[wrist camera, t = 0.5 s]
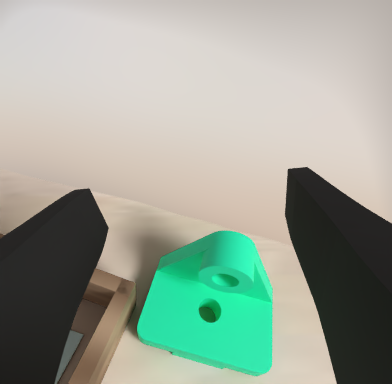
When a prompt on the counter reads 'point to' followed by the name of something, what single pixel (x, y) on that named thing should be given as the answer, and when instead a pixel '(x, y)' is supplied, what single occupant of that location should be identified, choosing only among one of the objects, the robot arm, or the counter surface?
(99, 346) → the corner walls
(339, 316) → the robot arm
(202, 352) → the camera mount
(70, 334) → the pad
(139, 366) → the counter surface
